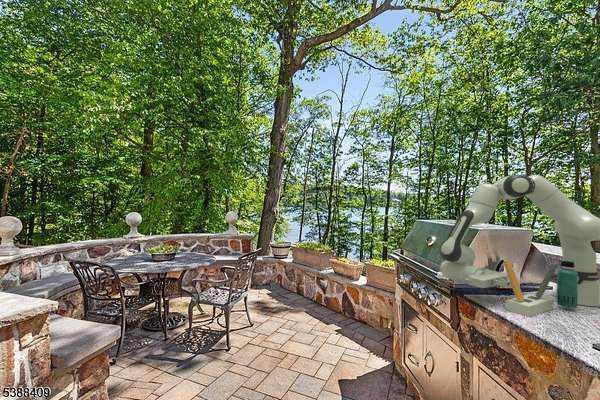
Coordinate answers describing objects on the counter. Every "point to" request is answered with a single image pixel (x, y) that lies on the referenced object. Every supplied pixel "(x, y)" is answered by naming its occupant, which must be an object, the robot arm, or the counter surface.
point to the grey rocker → (546, 279)
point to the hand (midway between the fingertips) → (508, 284)
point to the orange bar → (513, 281)
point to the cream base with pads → (529, 305)
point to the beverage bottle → (567, 286)
